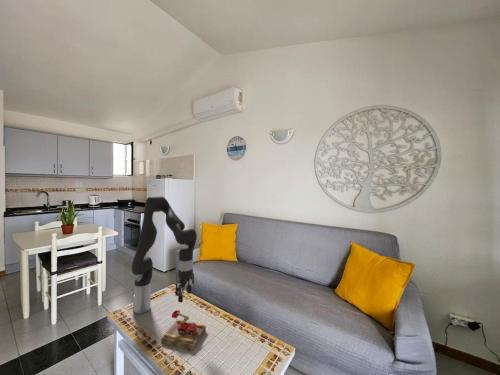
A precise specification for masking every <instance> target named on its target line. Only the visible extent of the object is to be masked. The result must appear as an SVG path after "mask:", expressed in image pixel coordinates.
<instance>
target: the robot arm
mask: <svg viewBox="0 0 500 375" xmlns="http://www.w3.org/2000/svg"><path fill="white" fill-rule="evenodd" d="M143 211H144V212H143V219H142V224H141V229H140V232H139V237H138V243H137V247H136V250H135V254H134V257H133V259H132V264H131V272H132V274H133V275H134V276H137V277H136V278H135V279H134V293H133V294H134V295H133V296H132V312H134V313H135V314H137V315H141V314H142V315H143V314H146V313H148V312H149V311H150V310H151V306H152V305H151V302H152V301H151V300H152V299H151V298H152V297H151V296H152V294H151V293H152V292H151V291H152V287H151V286H152V285H151V284H152V278H153V269H154V268H153V267H154V265H153V259H152V258H151V257H150V256H146V255H147V253H148V252H149V251H150V250H151V248H152V247H153V245H154V244H155V243H156V239H157V235H158V229H157V227H156V225H155V223H154V222H153V221H154V220H153V218H154V217H153V216H154V213H159V212H162V213H164V215H165V223H166V225H167V227H168V228H169V229H170V231H172V233H173V236H174V239H175V241H176V242H177V243H178V244H179V245H184V246H181V248H180V249H179V252H178V264H177V266H178V267H177V269H178V270H177V277H178V279H179V283H175V293H174V294H175V297H176V296H177V301H178V303H180V304H181V303H183V301H184V292H185V291H186V293H187V294H188V295H189V294H192V289H193V288H192V287H193V284H195V273H194V250H195V246H196V242H197V237H198V236H197V232H196V230H195V229H193V228H188V229H185V227H186V225H185V223H184V222H183V220H182V219H180V218H179V216H178V215H177V214H176V213H175V211H174V210H173V208H172V206H171V205H170V203H169V201H168V200H167V199H166V198H165V197H164V196H160V195H159V196H148V197H147V198H146V200H145V202H144V210H143Z"/></svg>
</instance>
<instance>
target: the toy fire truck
mask: <svg viewBox="0 0 500 375" xmlns="http://www.w3.org/2000/svg"><path fill="white" fill-rule="evenodd" d="M178 317H182V318H183V319H182V320H183V321H182V323H181V324H180V325H179V327H178V331H180V332H181V333H182V331H183V333H189V334H191V335H192V334H195V333H196V332H197V325H196V322H192V325H191V326H189V325H188V323H187V322H188V320H189V319H190V317H189V315H186V314H183V313H181V310H174V311H173V313H172V314H171V318H173V319H177V318H178ZM186 321H187V322H186Z"/></svg>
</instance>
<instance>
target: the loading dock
mask: <svg viewBox="0 0 500 375" xmlns="http://www.w3.org/2000/svg"><path fill="white" fill-rule="evenodd" d="M183 320H184V319H176V320H175V321H174V323H173V324H172V325H171V326H170V327H169V328H168V329H167V330H166V331H165V333H163V335H162V336H160V343H161V344H164V345H166V346H167V345H168V346H171V347H176V348H179V349H183V350H187V351H192V352H193V351H194V350H195V348H196V346H198V344H199V342H200V341H201V339H202V338H203V336H204V335H205V333H206V328H207V325H204V324H200V323H196V322H195V323H196V325H197V332H196V333H195V334H192V335H191V334H189V333H183V331H182V333H181V332H180V331H178V327H179V325H180V324H181V323H182V321H183ZM186 322H187V323H188V325H189V326H191V325H192V323H193V322H191V321H188V320H187V321H186Z"/></svg>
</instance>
